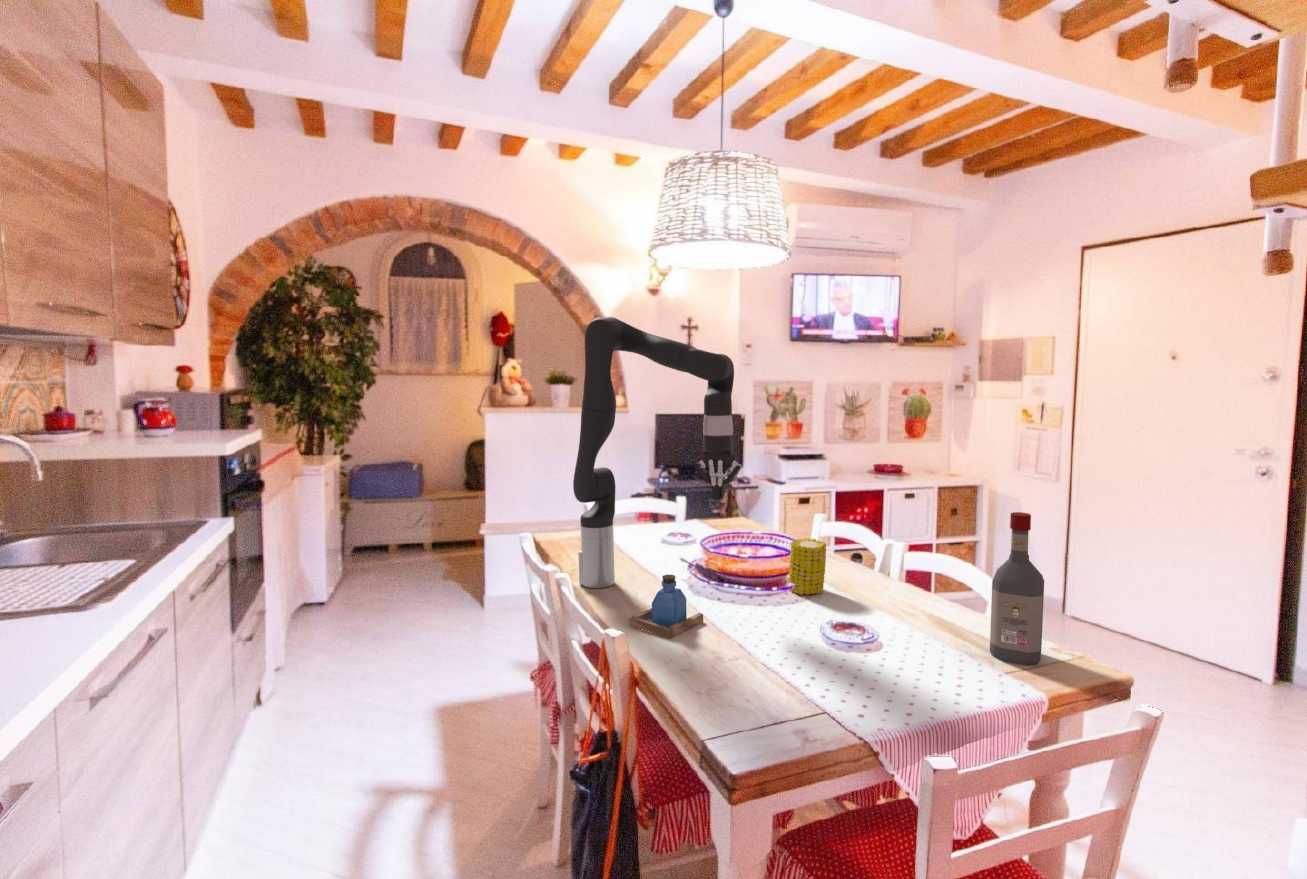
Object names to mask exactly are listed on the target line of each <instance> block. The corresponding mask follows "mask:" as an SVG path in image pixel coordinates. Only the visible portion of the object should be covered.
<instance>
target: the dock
mask: <svg viewBox="0 0 1307 879" xmlns="http://www.w3.org/2000/svg"><path fill="white" fill-rule="evenodd" d="M647 620H648V621H647ZM649 620H652V607H651V608H649V609H646V610H644V611H642V612H640V613H637V614H636V615H633V616H631V617H629V618H628V625H629V627H632V628H635V629H637V630H641V629H643V630H642V631H644V630H646V631H645V632H647V631H649V632H648V633H650V632H652V633H651V634H653V633H654V635H657V636H661V637H664V638H667V639H672V638H673V637H675V636H678V635H680V634H681V633H684V632H686V631H688V630H690V629H692V628H694V627H696V626H698V625H700V624H702V623H703V622H704V613H701V612H698V613H696V614H694V615H692V616H689V617H687V619H685V620H683V621H681V622H679V623H677V624H675V625H672V626H670V627H666V626H663V625H660V624H656V623H653V622H652V621H649ZM685 630H686V631H685Z"/></svg>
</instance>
